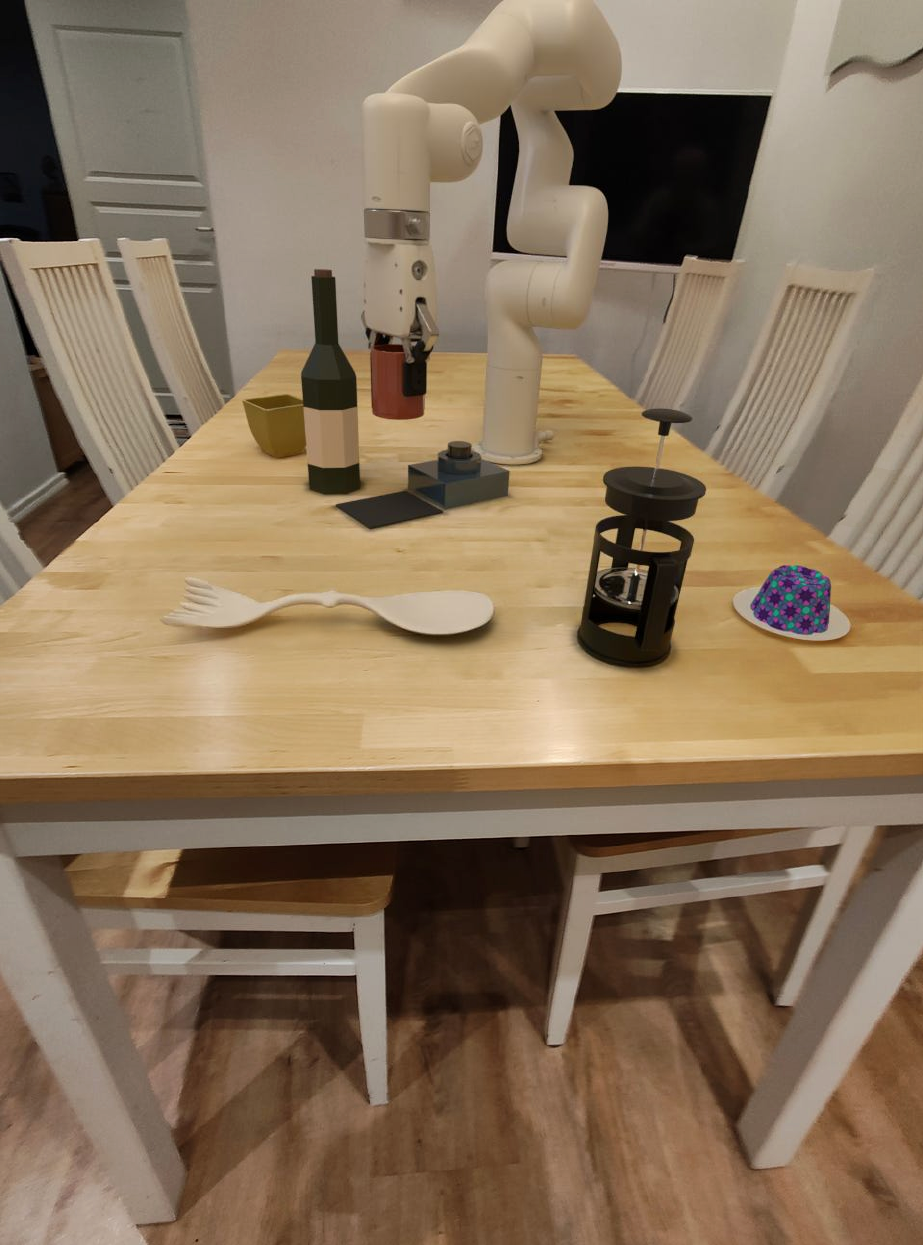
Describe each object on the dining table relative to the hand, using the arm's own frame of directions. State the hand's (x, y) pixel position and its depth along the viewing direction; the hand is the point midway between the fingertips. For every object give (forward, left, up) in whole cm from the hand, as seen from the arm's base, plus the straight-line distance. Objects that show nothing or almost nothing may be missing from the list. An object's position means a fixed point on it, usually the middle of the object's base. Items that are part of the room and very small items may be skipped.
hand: (398, 388), depth 87 cm
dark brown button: (-13, -4, -12) cm, 18 cm away
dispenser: (-13, -4, -17) cm, 22 cm away
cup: (0, 0, -3) cm, 3 cm away
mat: (0, -3, -17) cm, 18 cm away
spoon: (+21, +22, -18) cm, 35 cm away
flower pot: (+2, -36, -18) cm, 40 cm away
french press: (-1, +41, -18) cm, 45 cm away
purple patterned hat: (-21, +47, -18) cm, 55 cm away
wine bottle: (+2, -16, -18) cm, 24 cm away
